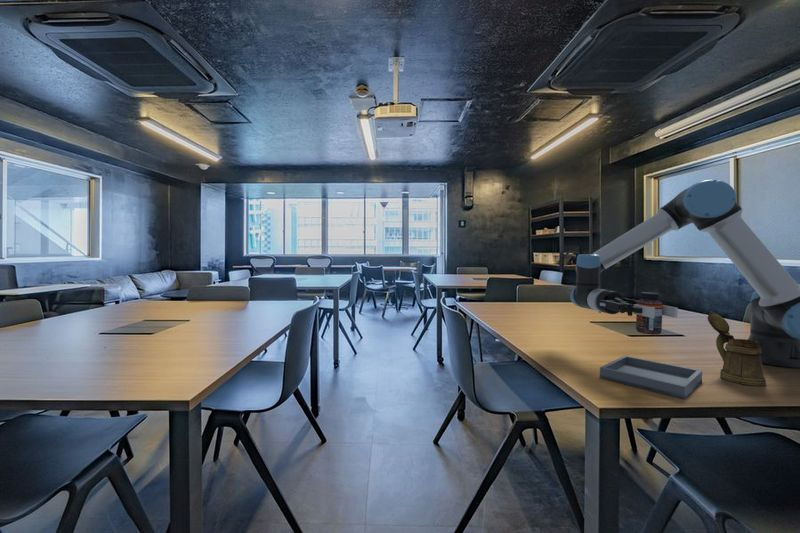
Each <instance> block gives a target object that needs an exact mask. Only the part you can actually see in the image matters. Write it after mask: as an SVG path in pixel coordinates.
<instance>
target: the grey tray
mask: <svg viewBox="0 0 800 533" xmlns="http://www.w3.org/2000/svg"><path fill="white" fill-rule="evenodd" d="M599 379H601V380H606V381H610V382H615V383H619V384H623V385H626V386H631V387H634V388H638V389H642V390H646V391H650V392H655V393H659V394H662V395H667V396H671V397H674V398H679V399H683V400H686V399H687V398H688V397H689V396H690V394H692V393H693V391H694V390H695V389H697V387H699V385H700V384H701V383H702V382H703V369H702V370H701V369H697V368H691V367H685V366H681V365H675V364H670V363H666V362H660V361H654V360H650V359H644V358H641V357H640V358H638V357H634V356H630V355H622V356H621V357H619V358H617V359H614V360H612V361H610V362H608V363H607V364H604V365H602V366H600V367H599Z"/></svg>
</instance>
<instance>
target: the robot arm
mask: <svg viewBox="0 0 800 533" xmlns="http://www.w3.org/2000/svg"><path fill="white" fill-rule="evenodd" d="M742 212H743V208H742V207H741V206H740V204H739V203H738V202H737V193H736V191H735V189H734V188H733V187H732V186H731V185H730V184H729V183H728V182H725V181H723V180H719V179H706V180H702V181H697V182H696V183H694V184H691V185H690V186H689V187H687V188H685V189H684V190H682V191H680V192H679V193H678V194H677V195H676V196H674V197H673V198H672V199H671V200H669V201H668V202H667V203H666V204H664V205H663V206H661V207H660V208H658V209H657V213H655V214H653V215H651V217H648V218H647V219H646V220H644V221H642V222H641V223H640V224H637V226H635V227H633V228H631V229H630V230H628V231H626V232H625V233H623V234H622V235H620V236H618V237H617V238H615V239H613V240H612V241H610V242H608V243H607V244H606V245H604V246H602V247H601V248H599V249H597V250H596V251H594V252H593V253H591V254H589V253H588V254H586V253H584V254H583V253H582V254H580V253H579V254H577V256H576V261H575V262H576V264H575V268H574V269H575V273H576V282H575V283H576V284H575V287H574V288H573V289H571V291H570V294H569V299H570V301H571V303H573V305H575V306H577V307H580V308H583V309H588V310H593V311H596V312H598V314H602V313H605V314H609V315H616V314H619V313H621V314H626V313H627V316H628V317H632V316H633V315H636V314H637V315H641V316H646V317H650V318H655V308H654V307H648V306H643V305H637V301H638V300H639V299H634V298H633V299H631V298H628V297H623V295H622V294H621V293H620V292H618V291H615V290H609V289H604V288H600V287H601V283H600V281H601V273H602V272H603V271H605V270H606V269H608V268H609V267H611V266H613V265H615V264H617V263H619V262H620V261H622V260H623V259H625V258H627V257H629V256H630V255H632V254H634V253H636V252H637V251H639V250H641V249H642V248H644V247H646V246H647V245H649V244H650V243H652V242H654V241H655V240H657V239H659V238H661V237H662V236H664V235H666V234H667V233H670V232H671V231H677V232H678V230H680V229H682V228H684V227H686V226H688V225H690V224H693V225H694V226H695V228H697V230H698V231H699V232H703V233H708V234H709V235H710V236H711V238H712V239H713V240H714V242H716V244H717V245H718V247H719V248H721V250H722V251H723V253H724V254H725V255H726V257H727V258H728V259H729V260H730V261H731V262H732V263H733V265H734V266H735V267H736V268H737V270H738V271H739V272H740V273H741V275H742V276H743V277H744V278H745V280H746V281H747V282H748V284H750V286H751V287H752V288H753V289H754V291H753V293H751V299H750V302H749V303H750V323H749V324H750V326H749V327H750V330H749V337H748V339H747V340H754V341H758V342H759V347H760V348H761V351H762V353H761V361H762V365H770V366H777V367H783V368H792V369H793V368H794V369H800V283H797V281H795V280H794V278H793V277H792V276H791V275H790V274H789V272H788V271H787V270H786V269H785V267H784V266H783V265H782V264H781V263H780V262H779V261H778V259H777V258H776V257H775V256H774V254H772V252H771V251H770V250H769V248H767V246H766V245H765V244H764V243H763V241H761V239H760V238H759V236H758V235H756V233H755V232H754V231H753V230H752V229H751V227H750V226H749V225H748V223H746V221H745V220H744V219H743V218H742V217H741V215H742V214H743V213H742ZM678 309H679V307H676V306H671V305H666V304H664V303H662V316H665V317H671V318H678V313H679V312H678V311H679V310H678ZM637 315H636V316H637Z"/></svg>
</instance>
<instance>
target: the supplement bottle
mask: <svg viewBox="0 0 800 533" xmlns="http://www.w3.org/2000/svg"><path fill="white" fill-rule="evenodd" d="M640 295H641V296H640V297H641V298H640V299H637V300H638V301H637V305H643V306H648V307H654V308H655V318H650V317H646V316H641V315H637V314H635V316H636V319H635V320H636V321H635V330H636V331H637V332H638V333H640V334H641V333H642V334H644V335H653V336H654V335H655V336H656V335H660V334H662V329H663V315H662V304H663V301H661V300H660V299H659V295H660V294H659V293H658V292H649V291H641V294H640Z"/></svg>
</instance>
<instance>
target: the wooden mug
mask: <svg viewBox="0 0 800 533" xmlns="http://www.w3.org/2000/svg"><path fill="white" fill-rule="evenodd" d="M707 321H708V323H709V325H710V326H711V328H712V329H713V330H714V331H715V332H717V333H718V336H717V337H716V341H715V345H716V349H717V350H718V353H719V355H720V357H721V359H722V361H723V365H722V368H721V369H720V371H719V372H720V375H719V376H720V377H721V379H724V380H725V381H729V382H730V383H731V382H732V383H734V382H735V384H741V385H744V384H745V386H754V387H762V386H766V385H767V381H766V377H765V375H764V368H763V363H762V361H761V353H762V351H761V348H760V347H759V342H758V341H754V340H748V339H747V338H746V339H745V338H744V339H743V338H735V337H734V335H732V334H730V325H729V323H728V322H727V320H726V319H725V317H723V316H721V315H720V314H719V313H717V312H714V311H712V310H710V311H709V313H708V316H707ZM724 346H725V347H724Z"/></svg>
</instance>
